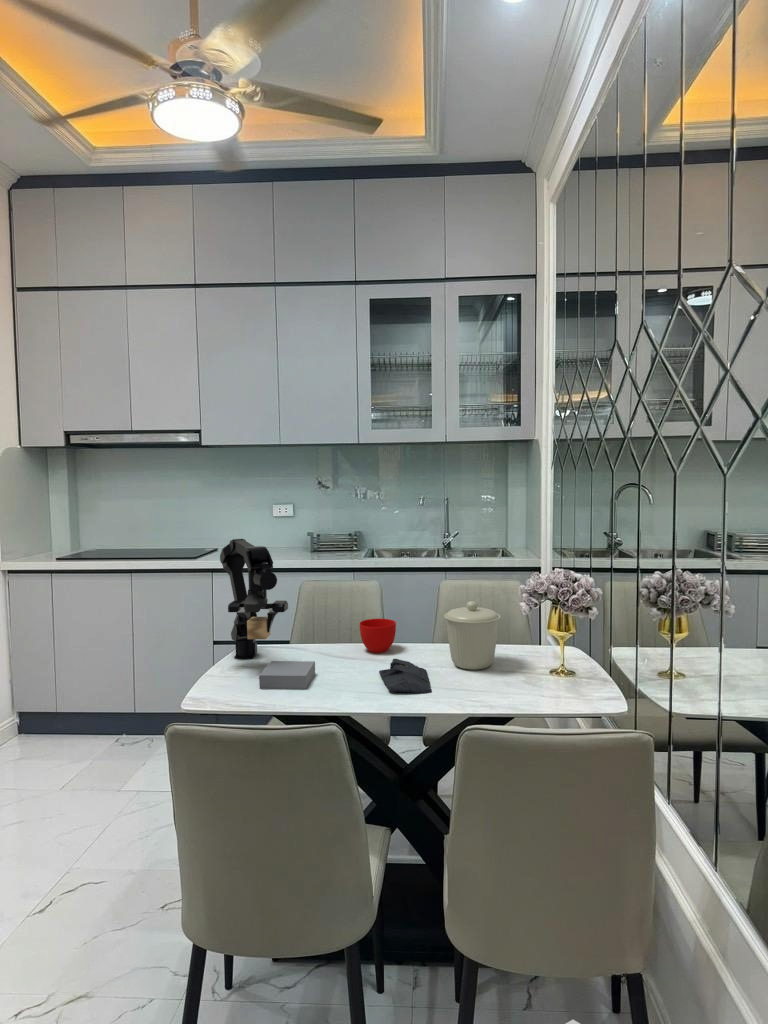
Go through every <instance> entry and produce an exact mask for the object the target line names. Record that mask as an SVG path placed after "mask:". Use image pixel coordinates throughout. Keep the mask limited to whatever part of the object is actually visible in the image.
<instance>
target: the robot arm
mask: <svg viewBox="0 0 768 1024" xmlns="http://www.w3.org/2000/svg"><path fill="white" fill-rule="evenodd" d="M219 561H220V563H221V565H222V569H223V571H225V572H226V573H227V574H228V575H229V581H230V585H231V586H230V587H231V589H232V590H231V591H232V595H233V600H232V601H231V602H230V603H228V605H227V612H228V613H236V615H235V618H234V620H233V627H232V629H231V631H230V638H231V640H232V641H233V642H235V644H234V645H235V656H234V657H233V658H234V659H241V660H242V659H247V660H248V659H249V660H250V659H251V660H252V659H253V658H255V656H257V655H258V642H257V641H256V639H248V638H247V621H248V620H249V619H250V618H251V617H258V614H257V613H259V612H260V611H261V610H269V611H268V612H267V616H266V617H268V624H267V632H268V633H269V632H270V633H271V628H272V626H273V623H274V619H275V617H276V616H277V614H279V613H285V612H286V611H288V609H289V602H288V601H287V600H275V601H274V602H272V603H271V602H270V603H269V602H268V601H269V600H268V599H269V598H268V595H267V594H268V591H271V590H273V589H274V588H276V586H277V583H278V578H277V576H276V574H275V573H274V572H272V570H271V569H273V568H274V560H273V559H272V555H271V553H270V551H269V550H268V548H267V546H262V545H261V546H259V545H257V546H255V545H253V544H252V543H250V542H248V541H247V540H246V539H245V538H234V539H232V540H231V539H230V541H229V543H228V544H227V545H226V546H224V547H222V549H221V552H220V554H219ZM245 565H246V569H247V575H248V579H247V580H248V589H247V586H246V583H245V577H244V573H243V570H244V567H245Z"/></svg>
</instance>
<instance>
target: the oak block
mask: <svg viewBox="0 0 768 1024" xmlns="http://www.w3.org/2000/svg"><path fill="white" fill-rule="evenodd" d="M267 624H268V616H257V617H251V618H250V619H249V620H248V621H247V638H248V639H255V640H266V639H268V638H269V636H270V635H271V631H270V632H269V633H268V632H267Z"/></svg>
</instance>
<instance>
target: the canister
mask: <svg viewBox="0 0 768 1024" xmlns="http://www.w3.org/2000/svg"><path fill="white" fill-rule="evenodd" d="M443 617H444V619H445V621H446V628H447V639H448V644H449V652H450V658H451V661H452V663H453V664H454V665H455V666H456V667H457V668H460V669H463V670H468V671H469V670H472V671H473V670H474V671H475V670H476V671H478V670H483V669H487V668H489V667H490V666H492V665H493V662H494V660H495V653H496V648H497V647H496V646H497V638H498V629H499V620H500V619H501V614H499V613H498V612H497V611H495V610H492V609H490V608H487V607H486V608H485V607H478V603H477V602H476V601H474V600H473V601H472V600H470V601H467V603H466V606H463V607H457V608H452V609H450V610H449V611H448V612H445V614H444V615H443Z"/></svg>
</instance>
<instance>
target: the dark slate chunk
mask: <svg viewBox="0 0 768 1024" xmlns="http://www.w3.org/2000/svg"><path fill="white" fill-rule="evenodd" d="M378 673H379V675H380V677H381V680H382V681H383V682H384V684H385V685H386V687H387V689H388V690H389V691H390V692H393V693H412V694H429V693H432V692H433V689H432V685H431V681H430V677H429V674H428V671H427V669H425V668H423V667H419V666H417V665H415V664H414V663H412V662H410V661H407V660H402V659H399V658H392V660H391V662H390V666H389V668H386V669H382V670H381V669H380V670H379V671H378Z"/></svg>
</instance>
